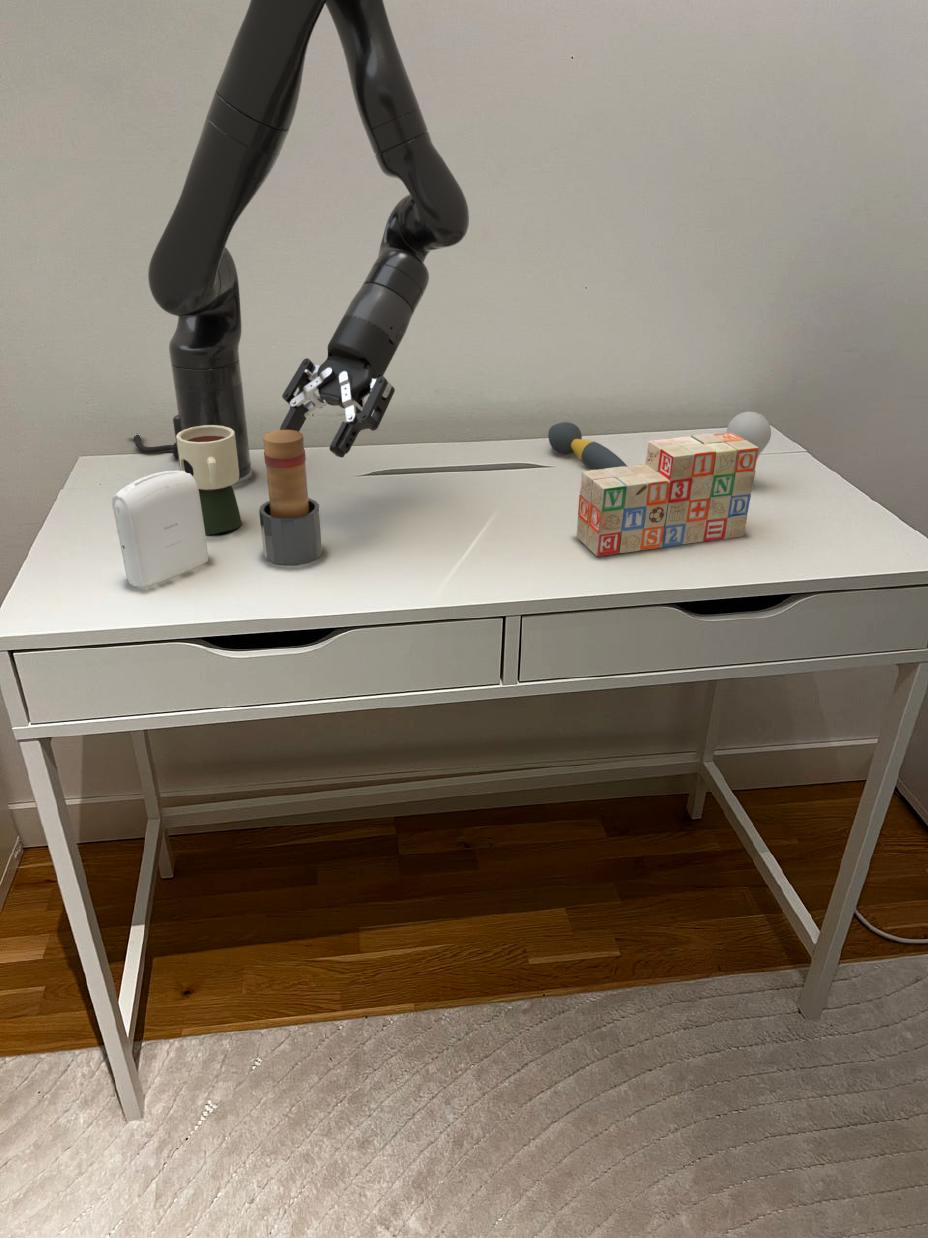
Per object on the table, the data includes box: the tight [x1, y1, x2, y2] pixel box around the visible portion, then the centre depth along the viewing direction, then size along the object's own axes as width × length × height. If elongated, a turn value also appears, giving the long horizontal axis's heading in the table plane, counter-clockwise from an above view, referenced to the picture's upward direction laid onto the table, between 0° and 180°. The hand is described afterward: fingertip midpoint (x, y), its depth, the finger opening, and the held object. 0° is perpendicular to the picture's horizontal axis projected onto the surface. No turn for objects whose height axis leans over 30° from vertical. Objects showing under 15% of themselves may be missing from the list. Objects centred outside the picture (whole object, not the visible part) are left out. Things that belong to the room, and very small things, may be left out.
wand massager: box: [547, 421, 628, 470], centre depth 148 cm, size 20×5×5 cm, turn 38°
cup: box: [258, 497, 324, 567], centre depth 119 cm, size 7×7×6 cm
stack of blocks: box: [576, 432, 759, 557], centre depth 123 cm, size 21×6×12 cm, turn 109°
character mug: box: [175, 425, 243, 536], centre depth 124 cm, size 11×7×13 cm, turn 19°
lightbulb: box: [725, 411, 772, 459], centre depth 139 cm, size 6×6×11 cm
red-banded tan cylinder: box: [262, 429, 309, 518], centre depth 116 cm, size 5×5×15 cm
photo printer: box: [111, 470, 209, 588], centre depth 113 cm, size 10×4×12 cm, turn 140°
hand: (310, 446), depth 117 cm, fingers open, 8 cm apart
